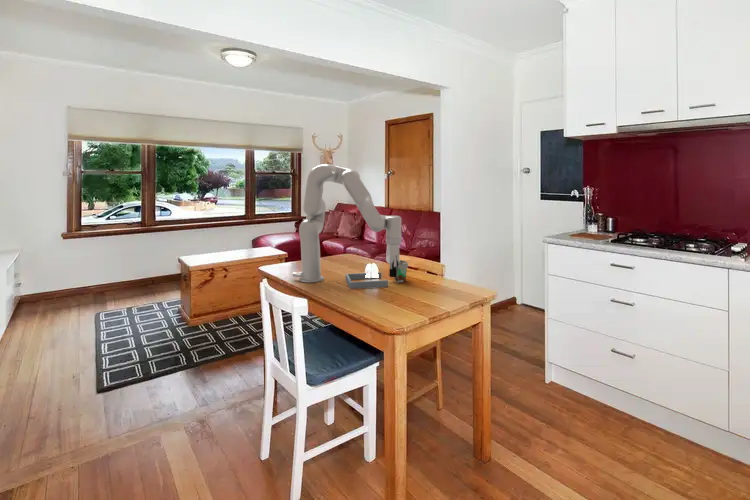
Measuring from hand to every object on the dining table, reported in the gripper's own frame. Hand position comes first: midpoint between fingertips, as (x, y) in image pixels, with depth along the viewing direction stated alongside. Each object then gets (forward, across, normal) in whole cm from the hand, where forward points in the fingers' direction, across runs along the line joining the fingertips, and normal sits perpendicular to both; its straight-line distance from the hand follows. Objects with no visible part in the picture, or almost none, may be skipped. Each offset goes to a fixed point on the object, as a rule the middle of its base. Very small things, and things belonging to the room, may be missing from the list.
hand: (392, 276), depth 211 cm
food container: (+3, 0, +5) cm, 5 cm away
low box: (+3, 0, -13) cm, 13 cm away
